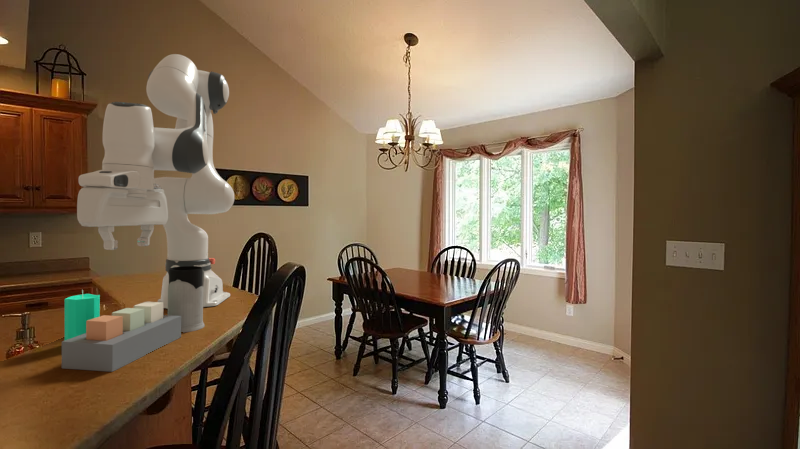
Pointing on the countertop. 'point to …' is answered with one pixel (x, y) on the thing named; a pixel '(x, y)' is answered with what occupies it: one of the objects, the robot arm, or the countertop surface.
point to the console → (119, 346)
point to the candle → (80, 313)
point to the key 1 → (104, 327)
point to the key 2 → (151, 311)
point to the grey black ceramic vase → (186, 296)
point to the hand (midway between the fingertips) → (127, 247)
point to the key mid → (131, 318)
